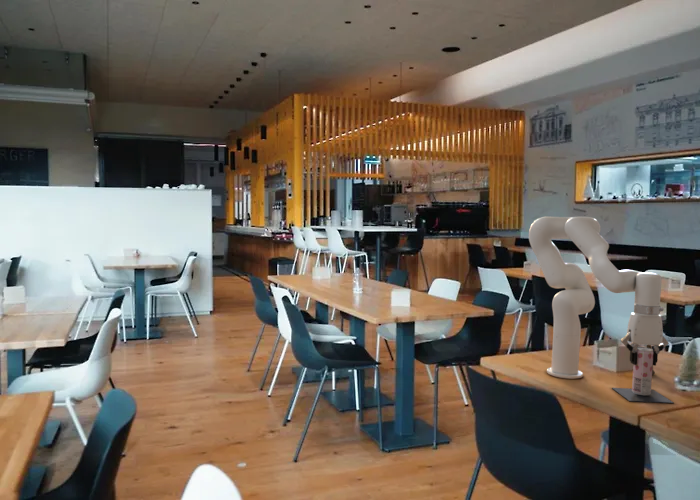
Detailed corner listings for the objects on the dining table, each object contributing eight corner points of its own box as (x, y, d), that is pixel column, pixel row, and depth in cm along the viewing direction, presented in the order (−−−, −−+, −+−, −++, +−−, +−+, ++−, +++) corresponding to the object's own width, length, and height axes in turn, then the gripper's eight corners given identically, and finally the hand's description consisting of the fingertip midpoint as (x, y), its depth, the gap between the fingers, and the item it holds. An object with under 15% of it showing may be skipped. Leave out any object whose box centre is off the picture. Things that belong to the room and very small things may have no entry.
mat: (611, 388, 204) (611, 387, 204) (653, 390, 204) (653, 389, 203) (629, 401, 190) (629, 400, 190) (673, 403, 190) (673, 402, 190)
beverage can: (649, 391, 199) (651, 347, 198) (652, 396, 194) (655, 351, 193) (630, 389, 201) (633, 345, 200) (633, 394, 195) (636, 349, 194)
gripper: (667, 309, 199) (663, 362, 200) (615, 307, 199) (612, 360, 201) (679, 313, 191) (675, 368, 193) (625, 311, 192) (621, 366, 193)
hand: (643, 363), depth 197 cm, fingers closed on beverage can, 5 cm apart
